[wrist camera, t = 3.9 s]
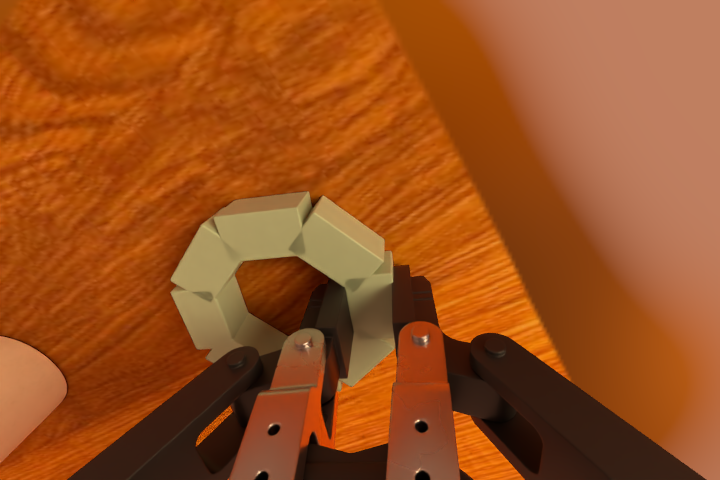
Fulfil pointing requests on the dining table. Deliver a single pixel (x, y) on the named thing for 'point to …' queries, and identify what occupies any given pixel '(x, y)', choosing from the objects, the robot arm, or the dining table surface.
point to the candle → (25, 392)
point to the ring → (275, 240)
